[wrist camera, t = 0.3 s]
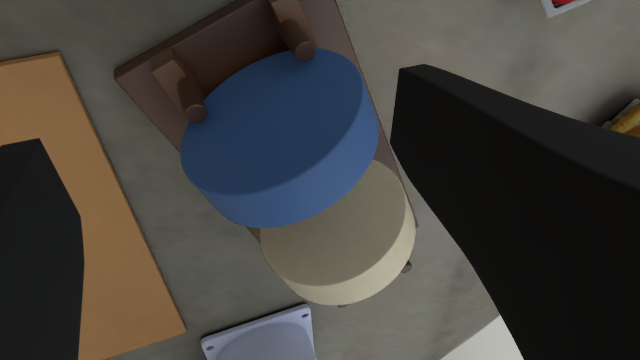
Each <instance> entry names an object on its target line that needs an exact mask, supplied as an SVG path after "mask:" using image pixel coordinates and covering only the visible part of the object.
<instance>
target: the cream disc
mask: <svg viewBox="0 0 640 360" xmlns="http://www.w3.org/2000/svg"><path fill="white" fill-rule="evenodd" d="M415 232H416V230H415V220H414V216H413V213H412V210H411V207H410V205H409V202H408V199H407V197H406V194H405V191H404V189H403V186H402V184H401V182H400V180H399V179H398V177H397V176H396V175H395V174H394V173H393V171H392V170H390V169H389V168H388V167H387V166H385V165H384V164H382V163H380V162H379V161H376V160H374V159H372V161H371V163H370V165H369V167H368V168H367V170H366V172H365V173H364V175H363V176H362V178H361V179H360V180H359V181H358V182H357V183H356V185H355V186H354V187H353V188H352V189H351V190H350V191H349V192H348V193H347V194H346V195H345V196H344V197H342V198H341V199H340V200H338V201H337V202H336V203H335V204H333V205H332V206H330V207H329V208H327V209H325V210H324V211H322V212H321V213H319V214H317V215H315V216H312V217H310V218H308V219H306V220H303V221H300V222H298V223H294V224H291V225H287V226H282V227H275V228H260V242H261V248H262V252H263V254H264V257H265V259H266V261H267V262H268V264H269V265H270V267H271V268H272V269H273V270H274V271H275V272H276V273H277V274H278V275H279V276H280V277H281V279H282V280H283V281H284V282H285V283H286V284H287V285H288V286H289V287H290V288H291V289H292V290H293V291H294V292H295V293H296V294H298V295H299V296H301V297H303V298H304V299H306V300H308V301H311V302H314V303H318V304H323V305H346V304H351V303H355V302H358V301H361V300H364V299H366V298H368V297H370V296H372V295H374V294H376V293H377V292H379V291H381V290H382V289H383V288H385V287H386V286H387V285H388V284H390V283H391V282H392V281H393V280H394V279H395V278H396V277H397V276H398V274H399V273H400V272H401V270H402V269H403V268H404V266H405V264H406V263H407V261H408V259H409V257H410V254H411V252H412V249H413V245H414V241H415Z"/></svg>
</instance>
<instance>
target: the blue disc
mask: <svg viewBox="0 0 640 360" xmlns="http://www.w3.org/2000/svg"><path fill="white" fill-rule="evenodd" d="M204 103H205V106H206V109H207V116H206V118H205V120H203V121H202V122H200V123H191V122H189V123H188V125H187V127H186V129H185V132H184V135H183V138H182V143H181V151H180V156H181V163H182V167H183V170H184V172H185V174H186V176H187V177H188V179H189V180H190V181H191V182H192V183H193V184H194V185H195V186H196V187H197V188H198V190H199V191H200V192H201V193H202V194H203V195H204V196H205V197H206V198H207V199H208V200H209V201H210V202H211V203H212V205H213V206H214V207H215V208H216V209H217V210H218V211H219V212H220V213H221V214H222V215H223V216H225V217H226V218H227V219H229V220H231V221H233V222H235V223H237V224H240V225H244V226H247V227H254V228H275V227H282V226H287V225H291V224H294V223H298V222H300V221H303V220H306V219H308V218H310V217H312V216H315V215H317V214H319V213H321V212H322V211H324V210H325V209H327V208H329V207H330V206H332V205H333V204H335V203H336V202H337V201H338V200H340V199H341V198H342V197H344V196H345V195H346V194H347V193H348V192H349V191H350V190H351V189H352V188H353V187H354V186H355V185H356V183H357V182H358V181H359V180H360V179H361V178H362V176H363V175H364V173H365V172H366V170H367V168H368V167H369V165H370V163H371V161H372V159H373V157H374V154H375V151H376V148H377V143H378V137H379V125H378V119H377V116H376V113H375V110H374V108H373V105H372V102H371V100H370V97H369V94H368V92H367V89H366V86H365V84H364V81H363V78H362V76H361V73H360V71H359V70H358V69H357V67H356V66H355V65H354V64H353V63H352V62H351V61H350V60H349V59H348V58H346V57H344V56H343V55H341V54H339V53H336V52H334V51H330V50H326V49H318V48H316V52H315V55H314V57H313V58H312V59H311V60H310V61H308V62H299V61H298V60H296V58H295V57H294V55H293V54H292V52H291V51H290V50H289V51H285V52H281V53H277V54H274V55H271V56H268V57H266V58H263V59H261V60H259V61H256V62H254V63H252V64H250V65H249V66H247V67H245V68H243V69H241V70H240V71H238V72H237V73H235V74H234V75H232V76H231V77H229V78H228V79H227V80H225V81H224V82H223V83H222V84H220V85H219V86H218V87H217V88H216V89H215V90H214V91H213V92H212V93H210V94H209V95H208V97H207V98H206V99H205V100H204Z"/></svg>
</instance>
